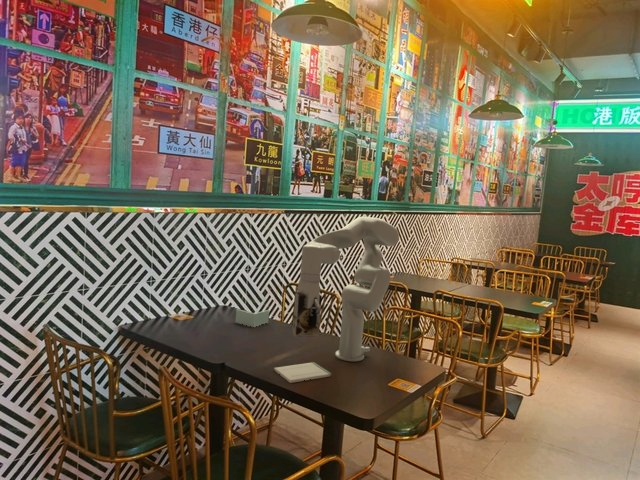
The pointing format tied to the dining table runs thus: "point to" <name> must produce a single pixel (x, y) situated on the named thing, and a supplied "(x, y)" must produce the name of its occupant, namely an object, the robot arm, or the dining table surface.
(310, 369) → the notepad
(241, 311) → the l-shaped corner panel
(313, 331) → the coffee box
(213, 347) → the dining table surface
